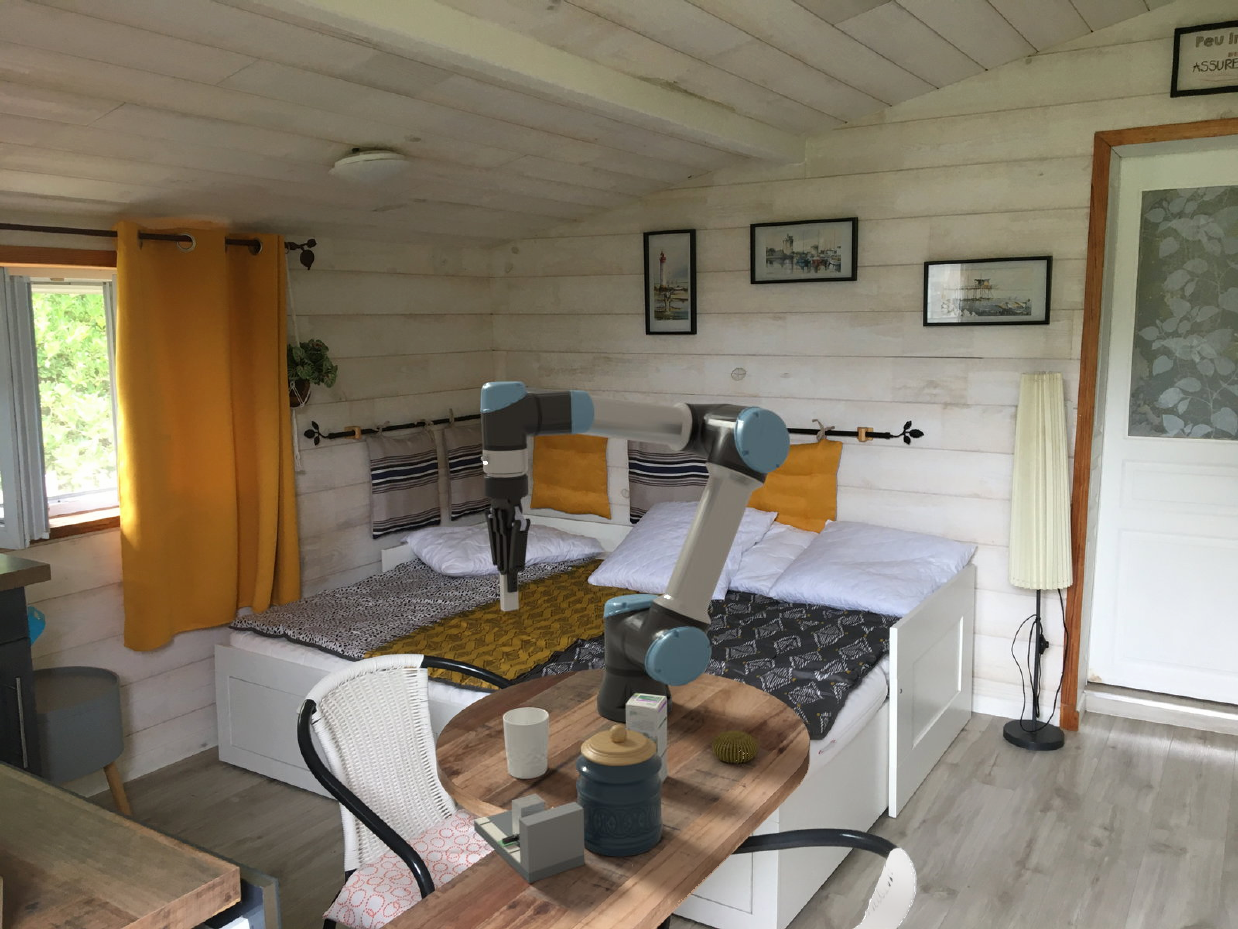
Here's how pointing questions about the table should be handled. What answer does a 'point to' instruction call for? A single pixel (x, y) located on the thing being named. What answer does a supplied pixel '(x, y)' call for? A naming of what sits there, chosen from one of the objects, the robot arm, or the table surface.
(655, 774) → the canister
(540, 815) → the gauge base
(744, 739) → the green sea urchin shell
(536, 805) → the block
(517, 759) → the white cup
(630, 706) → the syrup box
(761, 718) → the table surface
